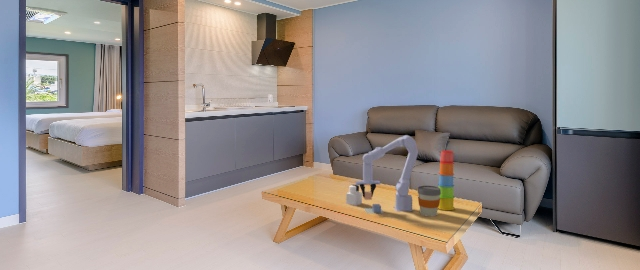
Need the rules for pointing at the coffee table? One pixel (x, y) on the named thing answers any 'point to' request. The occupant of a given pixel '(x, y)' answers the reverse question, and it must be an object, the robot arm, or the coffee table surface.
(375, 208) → the blue brick
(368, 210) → the plate
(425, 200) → the reusable coffee cup
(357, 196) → the medicine bottle
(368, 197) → the salmon orange cube
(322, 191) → the coffee table surface
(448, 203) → the stacking cups
